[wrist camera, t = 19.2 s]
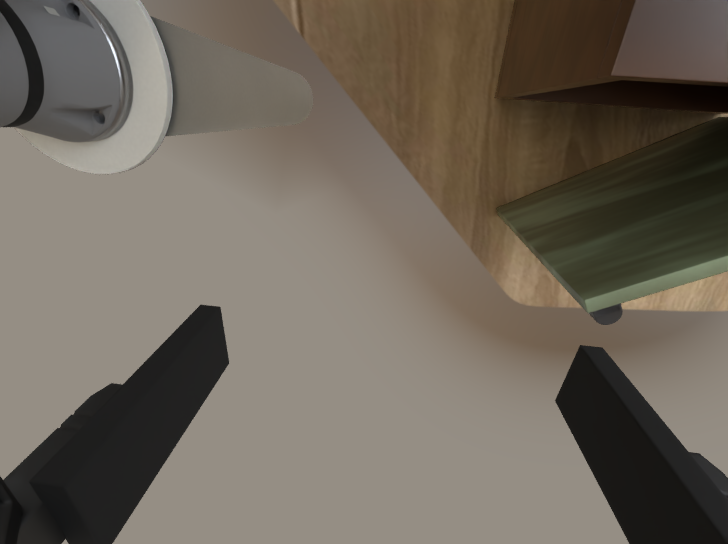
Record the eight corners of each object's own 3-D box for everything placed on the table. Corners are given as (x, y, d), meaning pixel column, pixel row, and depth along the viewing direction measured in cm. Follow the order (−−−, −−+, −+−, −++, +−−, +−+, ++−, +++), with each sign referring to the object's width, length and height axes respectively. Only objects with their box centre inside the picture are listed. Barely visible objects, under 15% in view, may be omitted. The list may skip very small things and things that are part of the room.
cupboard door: (724, 181, 36) (1113, 262, 16) (513, 258, 42) (607, 384, 23) (719, 116, 34) (1165, 119, 14) (495, 208, 40) (583, 300, 20)
